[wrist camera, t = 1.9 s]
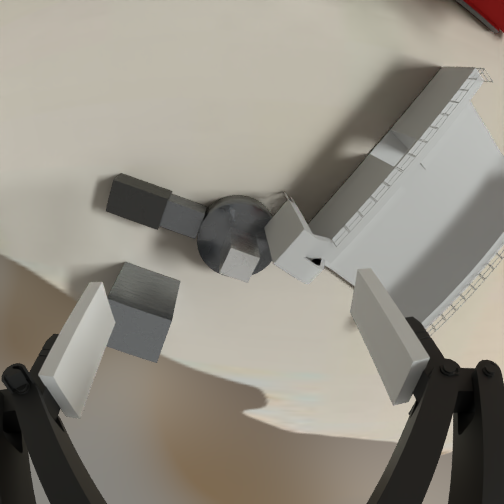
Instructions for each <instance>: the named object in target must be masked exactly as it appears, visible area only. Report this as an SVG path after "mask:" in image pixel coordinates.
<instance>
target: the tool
mask: <svg viewBox="0 0 504 504" xmlns="http://www.w3.org/2000/svg"><path fill="white" fill-rule="evenodd" d="M456 1H457V2H458V3H460V4H461V5H462V6H463V7H465V8H466V9H467V10H468V11H470V12H471V13H472V14H473V15H474V16H476V17H477V18H478V19H479V20H480V21H481V22H483V23H484V24H485V25H486V26H487V27H488V28H489V29H490V30H491V31H493V32H494V33H498V32H499V29H500V30H501V31H502V32H503V33H504V0H456Z"/></svg>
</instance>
